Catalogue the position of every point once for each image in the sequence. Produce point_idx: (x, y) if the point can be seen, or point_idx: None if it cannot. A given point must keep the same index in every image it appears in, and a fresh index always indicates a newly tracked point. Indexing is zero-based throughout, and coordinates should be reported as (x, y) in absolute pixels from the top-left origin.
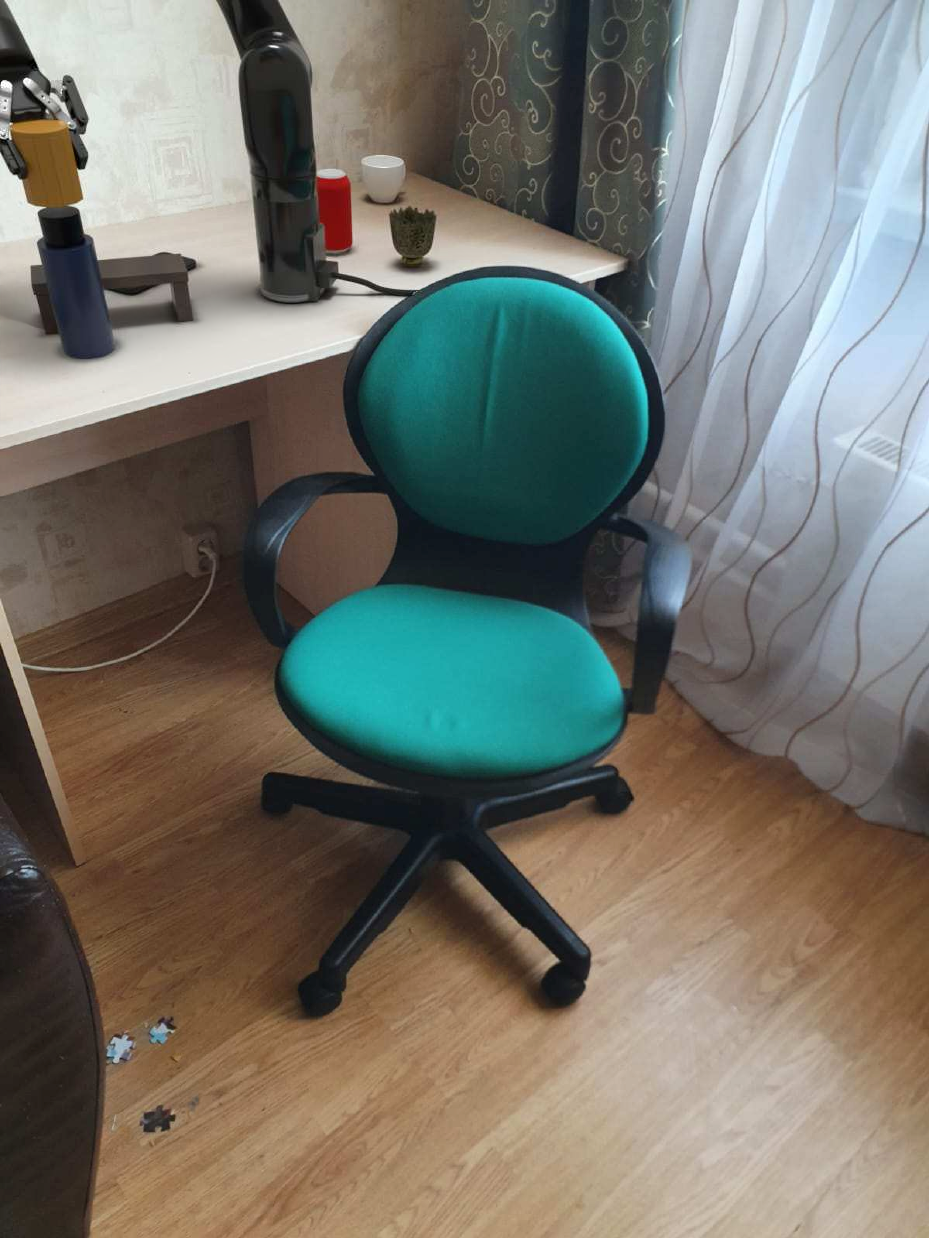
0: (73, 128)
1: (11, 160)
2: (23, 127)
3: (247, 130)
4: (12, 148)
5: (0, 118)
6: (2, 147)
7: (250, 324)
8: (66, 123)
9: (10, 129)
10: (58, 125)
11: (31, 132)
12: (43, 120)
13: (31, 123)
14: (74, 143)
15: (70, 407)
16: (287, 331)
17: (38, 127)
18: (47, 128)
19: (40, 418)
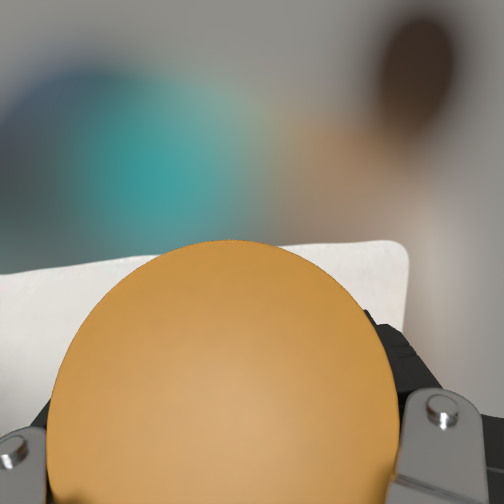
0: (25, 431)
1: (396, 344)
2: (310, 399)
3: None
4: (389, 360)
5: (470, 500)
6: (438, 383)
7: (48, 374)
8: (58, 373)
9: (396, 395)
10: (117, 346)
11: (296, 264)
12: None
13: (235, 489)
14: None
15: (340, 262)
16: (29, 327)
17: (229, 355)
18: (194, 309)
19: (376, 254)
